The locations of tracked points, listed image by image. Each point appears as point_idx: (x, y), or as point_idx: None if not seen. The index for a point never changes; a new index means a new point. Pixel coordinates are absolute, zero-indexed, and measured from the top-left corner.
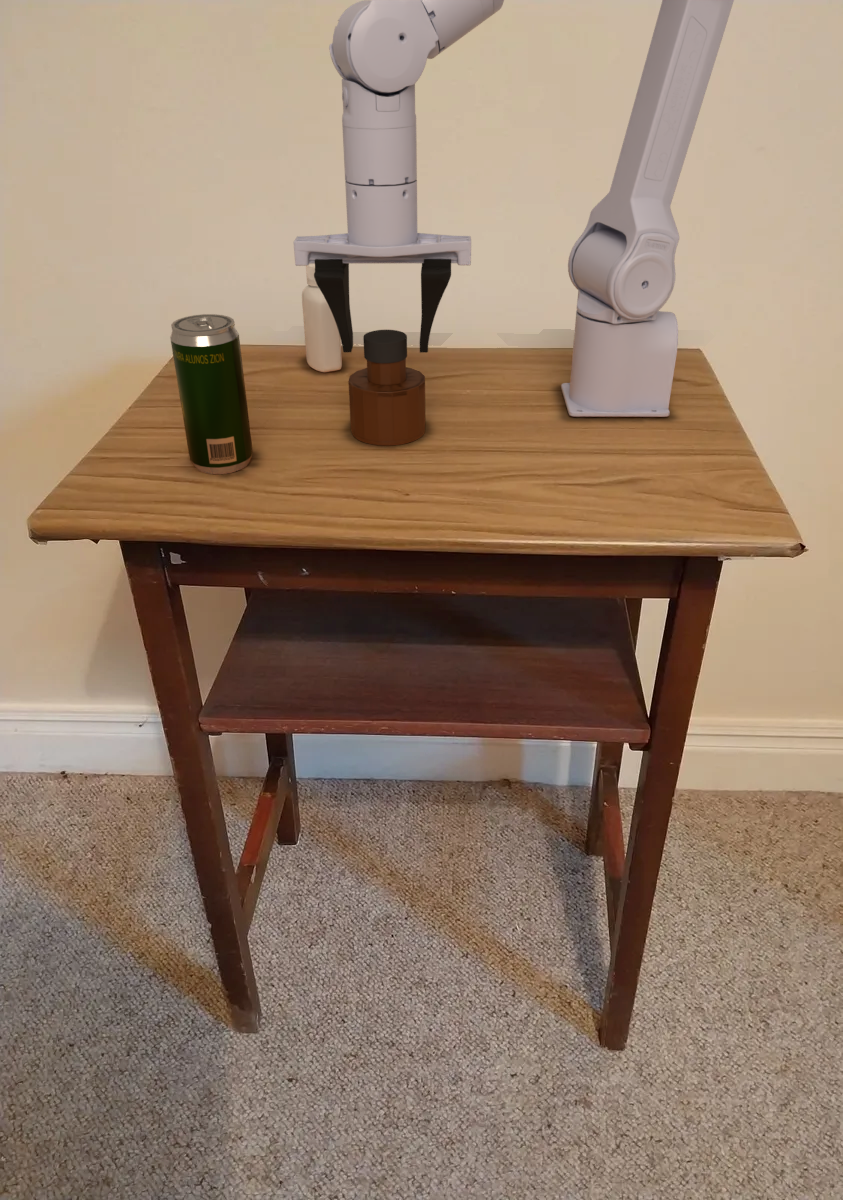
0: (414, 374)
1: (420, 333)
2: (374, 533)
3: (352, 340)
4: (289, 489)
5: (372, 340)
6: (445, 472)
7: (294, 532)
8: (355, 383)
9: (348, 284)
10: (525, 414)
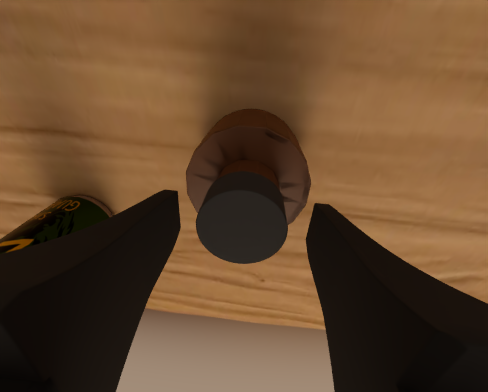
0: (294, 175)
1: (313, 274)
2: (237, 317)
3: (174, 204)
4: (166, 265)
5: (216, 250)
6: (301, 252)
7: (185, 311)
8: (199, 203)
9: (100, 268)
10: (457, 112)
